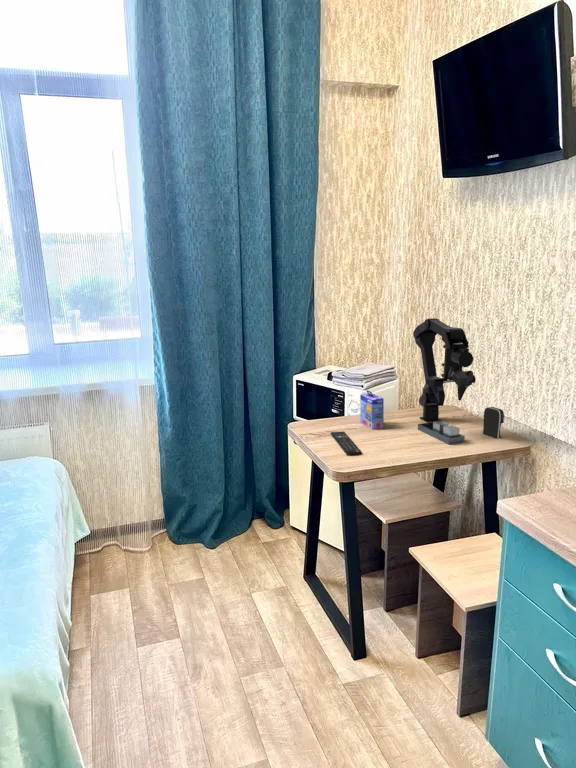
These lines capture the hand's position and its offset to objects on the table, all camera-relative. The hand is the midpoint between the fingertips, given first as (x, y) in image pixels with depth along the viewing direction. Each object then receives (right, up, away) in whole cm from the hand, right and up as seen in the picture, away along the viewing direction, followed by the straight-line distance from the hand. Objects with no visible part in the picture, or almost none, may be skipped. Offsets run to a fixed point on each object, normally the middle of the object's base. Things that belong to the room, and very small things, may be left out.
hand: (449, 401), depth 220 cm
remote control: (-41, -16, -10) cm, 45 cm away
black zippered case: (+15, -13, -5) cm, 21 cm away
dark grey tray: (-5, -13, -5) cm, 15 cm away
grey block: (-5, -13, -5) cm, 14 cm away
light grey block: (-3, -14, -11) cm, 18 cm away
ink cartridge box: (-28, -10, +11) cm, 32 cm away
